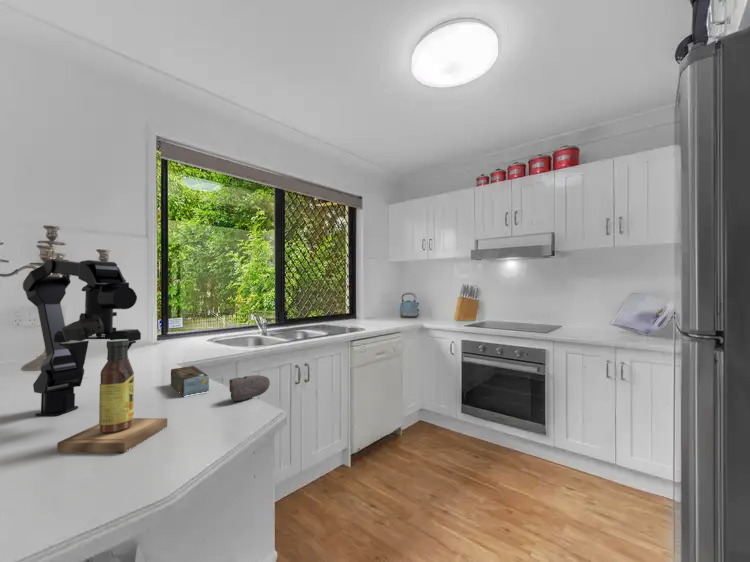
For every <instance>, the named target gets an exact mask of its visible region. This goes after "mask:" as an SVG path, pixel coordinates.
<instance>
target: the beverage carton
mask: <svg viewBox="0 0 750 562" xmlns="http://www.w3.org/2000/svg"><path fill="white" fill-rule="evenodd" d="M209 383H210V375H208V374H207V373H205V372H204V371H203V370H201V369H200V368H198V367H196V366H195V365H190V366H185V367H184V366H183V367H176V368H171V370H170V386H172V388H173V389H175V390H176V392H177V393H179V392H180V393H181V394H183V395H184V396H186V395H191V394H196V393H202V392H207V391H209V392H210V384H209ZM180 393H179V394H180ZM181 394H180V395H181ZM184 396H183V397H184Z"/></svg>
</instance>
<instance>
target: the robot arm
mask: <svg viewBox="0 0 750 562" xmlns="http://www.w3.org/2000/svg"><path fill="white" fill-rule="evenodd" d="M51 274H62V276H59V275H51ZM70 276H74V277H78V280H80V281H81V282H82V281H83V282H85V283H86V285H84V286H83V287H82V288H81V292H85V301H84V313H82V312H81V313H80V315H79V318H78V319H79V320H77V321H74V322H71V323H69V324H67V325H66V324H65V319H64V315H63V310H62V305H61V303H62V300H63V299H64V297H65V295H66V294H67V293H66V290H67V288H68V286H70V284H71V279H70ZM22 289H23V291H25V295H26V298H27V300H28V301H29V302H30V303H32V304H33V305H34V306H36V307H37V312H38V313H37V314H38V318H39V322H40V327H41V332H42V338H43V343H44V349H45V354H46V357H45V359H44V361H43V363H42V364H41V366H40V373H39V375H38V376H37V378H36V380H35V381H34V382H33V385H32V387H33V392H34V393H35V394H41V398H40V400H41V401H40V411H39V412H35V413H34V416H60V415H62V414H65V413H69V412H70V411H73V410H74V411H75V410H76V409H79V405H76V403H75V401H76V400H75V399H76V393H75V388H77V387H81V386H82V383H83V378H84V376H85V368H84V365H85V362H86V357H87V351H88V348H89V347H88V346H89V340H118V339H128V340H129V345H128V350H129V349H130V348H131V346H132V345H133V344H136V343H137V341H139V340H141V337H142V333H141V331H140V330H139V329H137V328H136V329H134V328H132V329H131V328H129V329H128V328H127V329H126V328H125V329H117V327H114V326H113V325H114V322H113V321H114V320H113V319H114V317H117V316H118V315H117V314H118V313H117V311H115V312H114V310H128V309H130V308H131V309H132V307H134V305H135V304H136V303H137V300H138V295H137V293H136V292H135V290H134V289H133V288H131V287H130V283H129V282H127V281H126V279H125V278H124V276H123V274H122V271H121V269H120V268H119V267H118V263H116V262H115V261H104V260H103V261H102V260H94V259H93V260H91V259H86V260H82V261H73V260H72V261H71V260H68V259H61V258H50V259H47V260H45V262H44V263H43V264H42V265H40V266H39V267H37V268H35V269H33V270H31V271H30V272H29V273H28V275H26V277H25V279H23V282H22Z"/></svg>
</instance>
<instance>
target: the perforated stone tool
mask: <svg viewBox="0 0 750 562" xmlns="http://www.w3.org/2000/svg"><path fill="white" fill-rule="evenodd" d="M228 384H229V392H230V398H231V400H232V401H233V402H238V401H245V400H248V398H249V399H253V398H255V397H258V396H261V395H262V394H264V393H266V392H267V391H268V389H269V388H270V385H271V381H270V378H268V377H267V376H265V375H257V374H256V375H255V374H254V375H247V376H243V377H235V378H230V379H229V383H228ZM250 397H252V398H250Z"/></svg>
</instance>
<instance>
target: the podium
mask: <svg viewBox="0 0 750 562" xmlns="http://www.w3.org/2000/svg"><path fill="white" fill-rule="evenodd" d="M165 427H166V428H167V427H168V418H167V417H164V418H163V417H159V418H158V417H156V418H155V417H154V418H153V417H152V418H151V417H150V418H149V417H143V418H142V417H141V418H140V417H138V418H137V417H133V423H132V425H131V426H130V427H129V428H127V429H125V430H121V431H117V432H112V433H104V432H101V431H100V425H99V423H97V424H95V425H93V426H90V427H89V428H86V429H84V430H82V431H79V432H78V433H75V434H73V435H71V436H69V437H66V438H65V439H63V440H60V441H58V442H57V445H56V446H57V448H56V449H57V450H56V451H57V452H92V453H91V454H93V453H94V454H96V453H97V454H106V453H105V452H125V453H127V452H128V451H130V450H131V449H130V448H132V447H133V448H135V447H136V446H135V445H137V444H138V445H140V444H142V443H143V442H145V441H146V440H148V439H149V437H150V438H151V437H153V436H155V435H156V434H158V433H159V432H160V430H161V431H163V430H164V429H166V428H165ZM163 428H164V429H163ZM162 429H163V430H162ZM157 432H158V433H157ZM155 433H156V434H155ZM152 435H153V436H152ZM147 438H148V439H147ZM144 440H145V441H144ZM142 441H143V442H142ZM139 443H140V444H139ZM138 445H137V446H138ZM134 446H135V447H134ZM133 448H132V449H133ZM129 449H130V450H129ZM127 450H128V451H127ZM126 451H127V452H126ZM103 452H104V453H103Z"/></svg>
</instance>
